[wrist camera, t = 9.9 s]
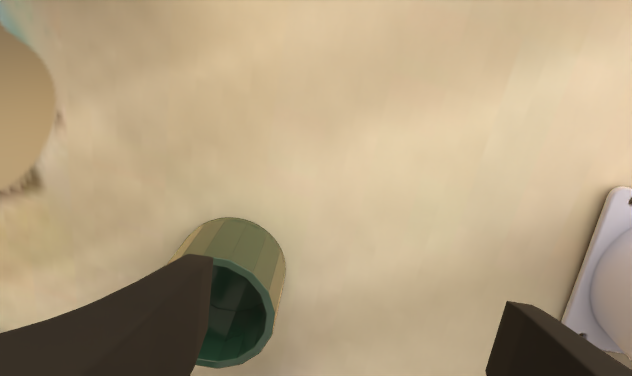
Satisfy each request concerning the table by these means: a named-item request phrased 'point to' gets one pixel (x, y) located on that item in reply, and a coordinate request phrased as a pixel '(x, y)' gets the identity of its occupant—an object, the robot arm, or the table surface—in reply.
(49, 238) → the table surface
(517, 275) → the table surface
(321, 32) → the table surface
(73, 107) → the table surface
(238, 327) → the tumbler
